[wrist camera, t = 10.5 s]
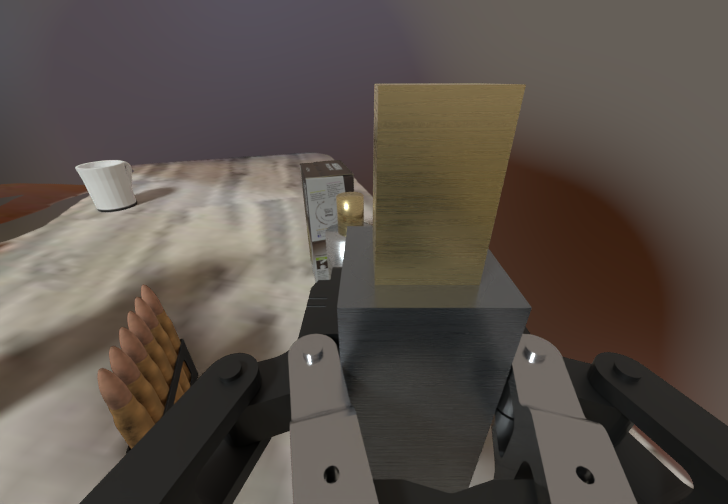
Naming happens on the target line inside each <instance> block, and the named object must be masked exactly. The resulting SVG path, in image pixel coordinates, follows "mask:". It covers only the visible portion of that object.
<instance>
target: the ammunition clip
mask: <svg viewBox="0 0 728 504" xmlns="http://www.w3.org/2000/svg"><path fill="white" fill-rule="evenodd" d="M141 297H142V299H141V298H139V297H136V298H135V312H136V313H134V312H132V311H129V312H128V316H127V321H128V327H129V330H128V329H126V328H124V327H121V328H120V330H119V340H120V345H121V349H122V350H121V349H119V348H117V347H115V346H112V347H110V350H109V358H110V364H111V368H112V371H113V373H112V372H111V371H109V370H107V369H103V368H101V369H99V371H98V385H99V389H100V392H101V394H102V397H103V399H104V401H105V402H106V404H107V406H108V408H109V410H110V412H111V414H112V415H113V418H114V423H115V426H116V427H117V429H118V430H119V432H120V433H121V435H122V436H123V438H124V439H125V441H126V442H127V444H128V445H129V446H128V449H127V452H126V454H127V453H128V452H129V451H130V450H131V449H132V448H133V447H134V446H135V445H136V444H137V443H138V442H139V441H140V440H141V438H142V437H143V436H144V435H145V434H146V433H147V432H148V431H149V430H150V429H151V428H152V427H153V426H154V425H155V424H156V423H157V422H158V421H159V420H160V419H161V417H162V416H163V415H164V414H165V413H166V412H167V411H168V410H169V409H170V408H171V407H172V406H173V405H174V404H175V403H176V402H177V401H178V400H179V399H180V398H181V396H182V395H183V394H184V393H185V392H186V391H187V390H188V389H189V388H190V387H191V386H192V385H193V384H194V383H195V382H196V381H197V377H198V372H197V370H196V368H195V365H194V363H193V361H192V359H191V356H190V354H189V352H188V349H187V347H186V345H185V342H184V340H183V339H180V340H179V337H178V335H177V333H176V330H175V328H174V326H173V323H172V321H171V320H170V318H169V317H168V316H167V315H166V313H165V311H164V309H163V307H162V305H161V303H160V301H159V299H158V298H157V296H156V295H155V293H154V292H153V291H152V290H151V289H150V288H149V287H148V286H146V285H142V287H141Z"/></svg>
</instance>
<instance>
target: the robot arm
mask: <svg viewBox="0 0 728 504" xmlns="http://www.w3.org/2000/svg"><path fill="white" fill-rule="evenodd" d="M341 272H342V267H333V268H332V273H331V279H330V280H318V281H317V282H316V283H315V285H314V286H313V287H312V288H311V291H310V295H309V299H308V303H307V307H306V310H305V314H304V318H303V322H302V326H301V330H300V333H299V337H298V340H297V341H295V342H294V343H293V345H292V346H291V347H290V349H289V351H287V352H286V353H284V354H282V355H280V356H278V357H275V358H271V359H268V360H264V361H260V362H257V361H256V359H255V358H254V357H253V356H251V355H249V354H245V353H235V354H230V355H227V356H225V357H223V358H221V359H219V360H217V361H216V362H215V363H213V364H212V365H211V366H210V367H209V368H208V369H207V370H206V371H205V372H204V373H203V374H202V376H201V377H200V378H199V379H198V380H197V381H196V382H195V383H194V384H193V385H192V386H191V387H190V388H189V389H188V390H187V391H186V392H185V393H184V394H183V395H182V396H181V398H180V399H179V400H178V401H177V402H176V403H175V404H174V405H173V406H172V407H171V408H170V409H169V410H168V411H167V412H166V413H165V414H164V415H163V416H162V417H161V419H160V420H159V421H158V422H157V423H156V424H155V425H154V426H153V427H152V428H151V429H150V430H149V431H148V432H147V433H146V434H145V435H144V436H143V437H142V438H141V440H140V441H139V442H138V443H137V444H136V445H135V446H134V447H133V448H132V449H131V450H130V451H129V452H128V453H127V454H126V455H125V456H124V457H123V458H122V459H121V460H120V462H119V463H118V464H117V465H116V466H115V467H114V468H113V469H112V470H111V471H110V472H109V473H108V474H107V475H106V476H105V477H104V478H103V479H102V480H101V481H100V483H99V484H98V485H97V486H96V487H95V488H94V489H93V490H92V491H91V492H90V493H89V494H88V495H87V496H86V497H85V498H84V499H83V500H82V501H81V502H80V503H79V504H233V502H234V500H235V499H236V497H237V495H238V494H239V492H240V490H241V488H242V487H243V485H244V483H245V482H246V480H247V478H248V477H249V475H250V473H251V472H252V470H253V468H254V467H255V465H256V463H257V461H258V460H259V458H260V456H261V455H262V453H263V451H264V450H265V448H266V446H267V445H268V443H269V441H270V439H271V437H273V436H276V435H279V434H282V433H284V432H287V431H290V445H291V466H292V487H293V504H728V426H727V425H725V424H724V423H723V422H721V421H720V420H718V419H717V418H716V417H714V416H713V415H712V414H710V413H709V412H707V411H706V410H705V409H703V408H702V407H700V406H699V405H698V404H696V403H695V402H693V401H692V400H691V399H689V398H688V397H687V396H685V395H684V394H682V393H681V392H679V391H678V390H677V389H675V388H674V387H673V386H671V385H670V384H668V383H667V382H666V381H664V380H663V379H662V378H660V377H659V376H657V375H656V374H655V373H653V372H652V371H650V370H649V369H648V368H646V367H645V366H643V365H642V364H640V363H639V362H637V361H635V360H633V359H631V358H629V357H627V356H624V355H621V354H617V353H611V352H606V353H605V352H604V353H600V354H598V355H597V356H596V357H595V359H594V361H593V363H592V364H590V363H585V362H581V361H577V360H573V359H568V358H565V357H562V356H561V354H560V352H559V351H558V349H557V348H556V347H555V346H553V345H552V344H551V343H550V342H548V341H546V340H545V339H543V338H540V337H538V336H535V335H531V334H530V333H529V331H528V330H527V328H526V327H525V328H524V331H523V334H522V337H521V340H520V343H519V345H518V348H517V351H516V354H515V357H514V360H513V362H512V365H511V368H510V371H509V374H508V377H507V380H506V382H505V385H504V388H503V391H502V394H501V397H500V400H499V402H498V405H497V408H496V411H495V414H494V417H493V419H492V422H491V427H492V437H493V448H494V458H495V473H494V480H491V481H488V482H485V483H482V484H479V485H476V486H473V487H470V488H467V489H464V490H462V491H459V492H455V493H447V492H443V491H440V490H437V489H433V488H430V487H427V486H424V485H420V484H417V483H414V482H410V481H407V480H404V479H372V475H371V471H370V467H369V463H368V459H367V455H366V451H365V447H364V443H363V439H362V435H361V431H360V427H359V423H358V419H357V415H356V412H355V409H354V406H353V405H352V406H351V403H350V400H349V395H348V391H347V387H346V383H345V379H344V375H343V371H342V366H341V365H340V348H339V332H338V316H337V304H338V296H339V288H340V280H341ZM634 424H635V425H636V426H637V427H638V428H639V429H640V430H642V431H643V432H644V433H645V434H646V435H647V436H648V437H649V438H651V439H652V440H653V441H654V442H655V443H656V444H657V445H658V446H660V447H661V448H662V449H663V450H664V451H665V452H666V453H667V454H669V455H670V456H671V457H672V458H673V459H674V460H675V461H676V462H678V463H679V464H680V465H681V466H682V467H683V468H684V469H685V470H686V471H687V473H688V474H689V475H690V477H691V479H692V481H693V485H694V489H692V488H690V487H689V486H687V485H686V484H684V483H683V482H682V481H681V480H680V479H679V478H678V477H676V476H675V475H674V474H673V473H672V472H671V471H670V470H669V469H668V468H667V467H666V466H665V465H663V464H662V463H661V462H660V461H659V460H658V459H657V458H656V457H655V456H654V455H653V454H652V453H650V452H649V451H648V450H647V449H646V448H645V447H644V446H643V445H642V444H641V443H640V442H639V441H637V440H636V439H635V438H634V437H633V436H632V435H631V434H630V433H629V430H630V429H631V428H632V426H633V425H634Z"/></svg>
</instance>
